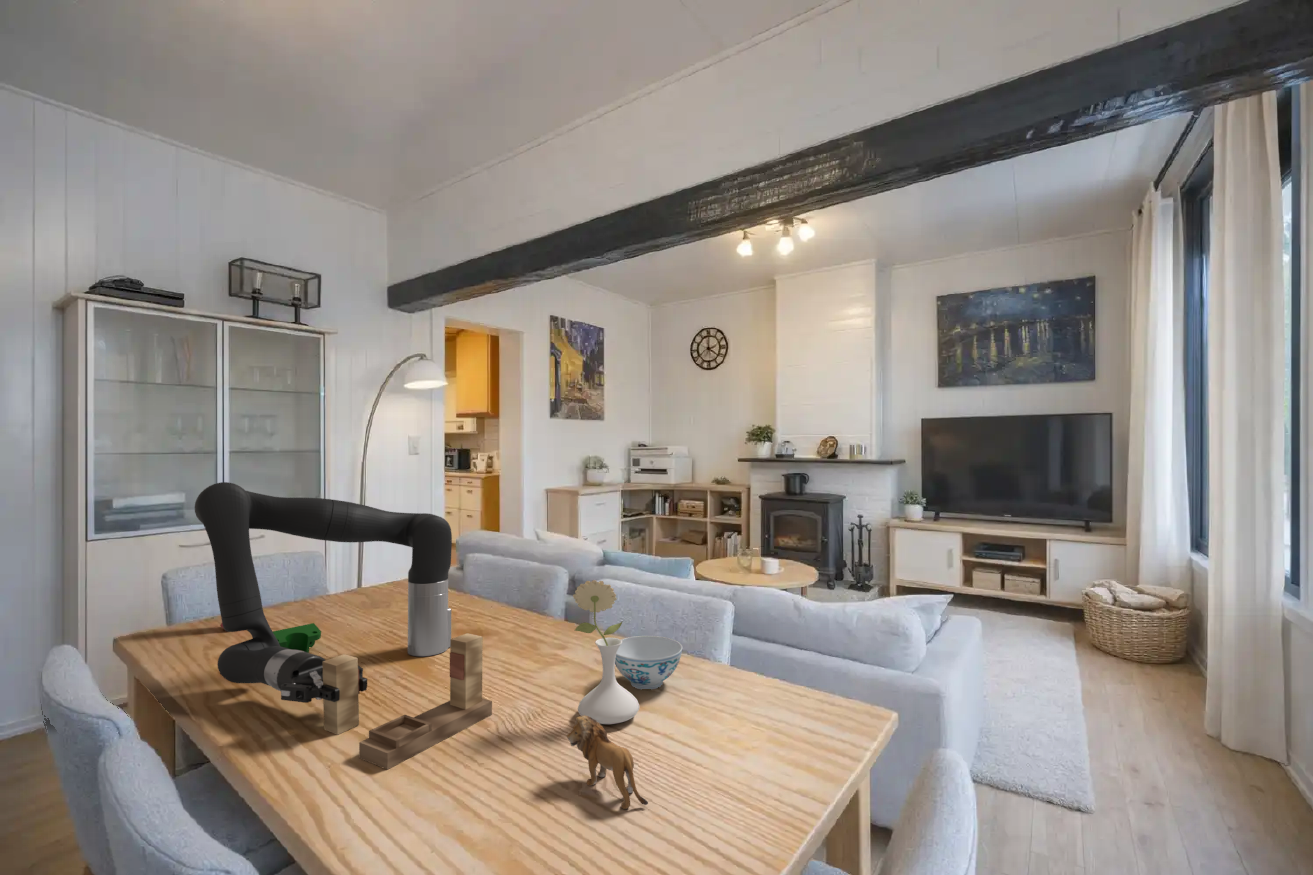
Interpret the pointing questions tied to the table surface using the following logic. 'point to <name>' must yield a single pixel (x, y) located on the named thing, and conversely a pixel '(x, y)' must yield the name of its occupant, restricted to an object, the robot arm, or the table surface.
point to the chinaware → (647, 660)
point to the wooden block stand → (434, 711)
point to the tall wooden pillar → (342, 693)
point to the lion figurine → (604, 756)
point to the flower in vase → (604, 661)
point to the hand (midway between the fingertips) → (351, 690)
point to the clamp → (298, 637)
